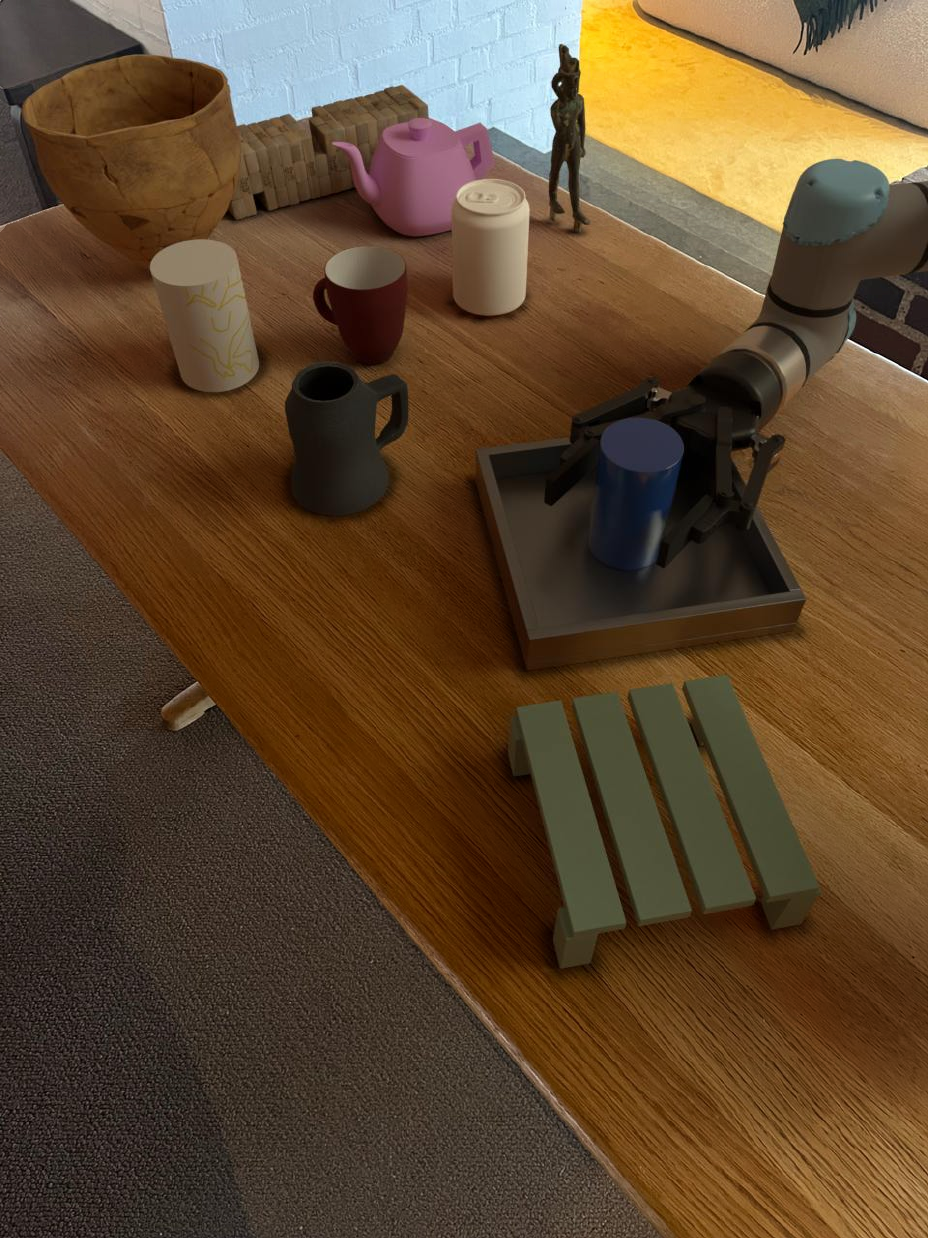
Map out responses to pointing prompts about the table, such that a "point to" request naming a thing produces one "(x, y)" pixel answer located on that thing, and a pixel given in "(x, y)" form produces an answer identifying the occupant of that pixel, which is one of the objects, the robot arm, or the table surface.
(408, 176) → the teapot
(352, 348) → the mug
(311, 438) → the mug
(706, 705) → the rack
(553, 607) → the tray
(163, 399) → the table surface
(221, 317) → the cream marbled cylinder
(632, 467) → the navy blue cylinder
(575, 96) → the statue
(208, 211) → the bowl
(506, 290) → the beverage can
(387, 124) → the block tower
